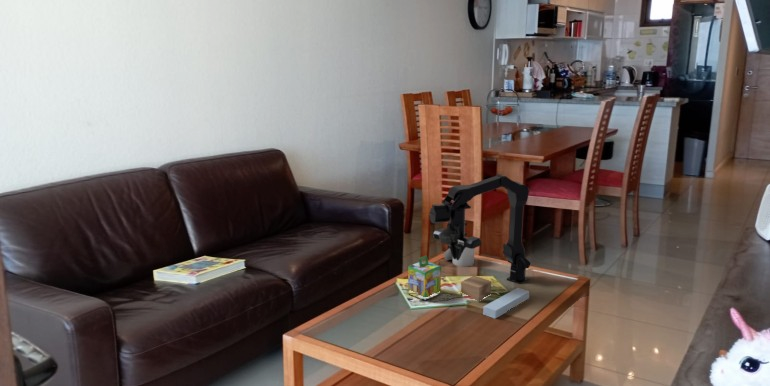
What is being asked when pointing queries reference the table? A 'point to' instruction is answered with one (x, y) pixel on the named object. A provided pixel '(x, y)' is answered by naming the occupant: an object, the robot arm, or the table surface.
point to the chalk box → (424, 277)
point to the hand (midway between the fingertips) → (456, 259)
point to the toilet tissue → (465, 258)
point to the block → (476, 287)
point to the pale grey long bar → (505, 303)
